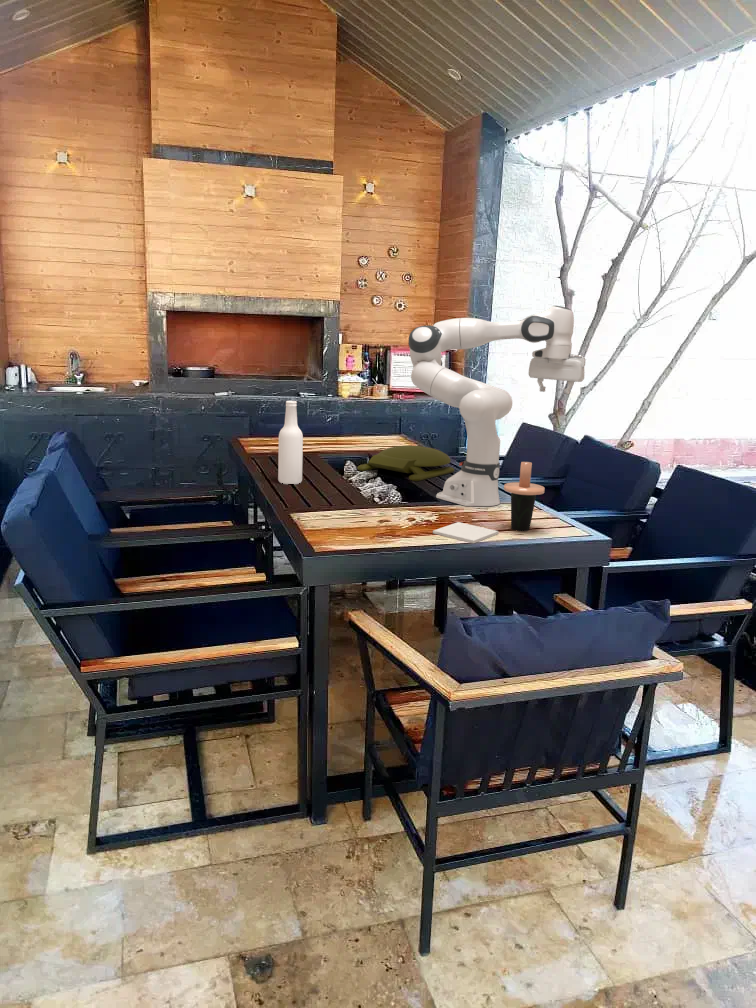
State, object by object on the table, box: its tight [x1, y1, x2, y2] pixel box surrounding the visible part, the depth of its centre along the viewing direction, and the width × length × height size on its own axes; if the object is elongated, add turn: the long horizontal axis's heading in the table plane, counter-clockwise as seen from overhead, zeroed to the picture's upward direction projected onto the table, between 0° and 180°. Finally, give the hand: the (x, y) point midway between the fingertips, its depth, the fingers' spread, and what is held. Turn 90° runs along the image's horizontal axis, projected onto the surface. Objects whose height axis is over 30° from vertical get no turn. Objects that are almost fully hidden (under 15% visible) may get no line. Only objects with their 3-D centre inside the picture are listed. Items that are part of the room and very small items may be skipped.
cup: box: [510, 493, 537, 532], centre depth 231 cm, size 8×8×12 cm
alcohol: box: [277, 400, 304, 485], centre depth 278 cm, size 9×9×30 cm
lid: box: [503, 461, 545, 496], centre depth 228 cm, size 12×12×8 cm
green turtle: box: [356, 444, 455, 482], centre depth 313 cm, size 35×31×10 cm
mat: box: [432, 521, 499, 544], centre depth 224 cm, size 14×14×1 cm
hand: (554, 392), depth 273 cm, fingers open, 8 cm apart
